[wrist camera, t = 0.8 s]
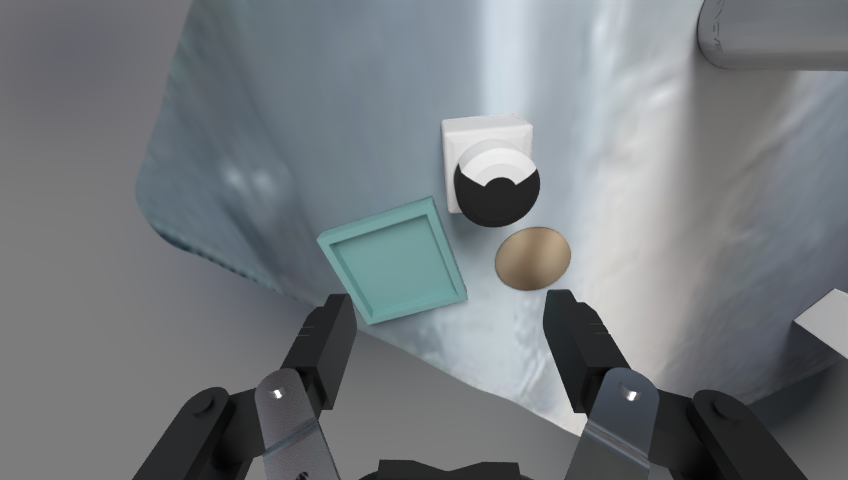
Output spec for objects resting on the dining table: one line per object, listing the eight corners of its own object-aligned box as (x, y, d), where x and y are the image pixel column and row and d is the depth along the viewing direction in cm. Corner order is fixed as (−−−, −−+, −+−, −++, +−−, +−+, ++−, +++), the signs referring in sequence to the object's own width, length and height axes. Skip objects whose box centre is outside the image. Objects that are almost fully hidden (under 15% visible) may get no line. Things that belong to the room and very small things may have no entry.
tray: (432, 195, 35) (432, 202, 33) (466, 289, 41) (467, 299, 39) (321, 231, 37) (316, 240, 35) (370, 314, 44) (367, 325, 42)
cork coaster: (564, 217, 36) (565, 219, 35) (573, 277, 40) (574, 279, 39) (487, 239, 37) (488, 241, 37) (504, 295, 41) (504, 297, 41)
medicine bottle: (510, 182, 34) (546, 234, 23) (445, 187, 34) (451, 241, 24) (513, 112, 30) (557, 137, 20) (440, 119, 31) (445, 147, 20)
